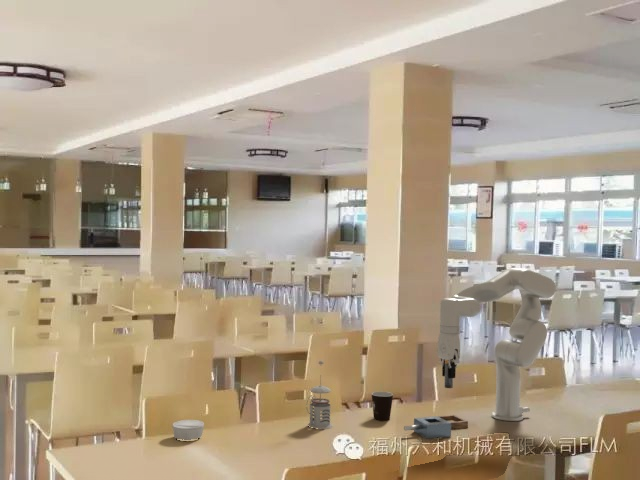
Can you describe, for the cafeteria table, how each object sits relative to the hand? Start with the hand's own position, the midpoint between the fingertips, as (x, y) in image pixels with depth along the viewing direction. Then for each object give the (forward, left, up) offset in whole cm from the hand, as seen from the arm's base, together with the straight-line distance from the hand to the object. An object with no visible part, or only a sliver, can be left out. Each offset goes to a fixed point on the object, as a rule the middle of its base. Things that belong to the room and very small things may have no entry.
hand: (448, 376), depth 277 cm
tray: (0, 0, -19) cm, 19 cm away
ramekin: (+99, -12, -19) cm, 102 cm away
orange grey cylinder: (0, 0, -4) cm, 4 cm away
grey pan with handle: (+15, +9, -19) cm, 26 cm away
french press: (+49, -13, -19) cm, 54 cm away
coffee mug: (+20, -17, -19) cm, 33 cm away
